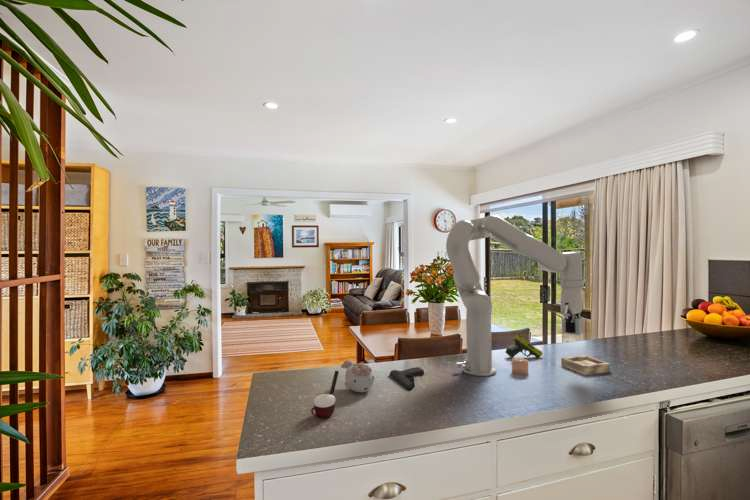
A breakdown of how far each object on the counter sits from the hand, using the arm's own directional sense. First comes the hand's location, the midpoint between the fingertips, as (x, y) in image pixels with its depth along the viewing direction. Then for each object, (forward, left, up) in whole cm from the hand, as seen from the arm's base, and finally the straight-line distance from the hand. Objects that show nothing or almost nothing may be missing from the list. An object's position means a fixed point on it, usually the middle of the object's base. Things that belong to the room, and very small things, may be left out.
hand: (573, 330), depth 150 cm
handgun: (-62, +9, -17) cm, 65 cm away
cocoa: (-97, -13, -16) cm, 99 cm away
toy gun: (-6, +23, -16) cm, 29 cm away
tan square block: (-20, +5, -16) cm, 26 cm away
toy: (-84, +6, -16) cm, 86 cm away
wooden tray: (+7, +2, -16) cm, 18 cm away
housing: (0, 0, -1) cm, 1 cm away
